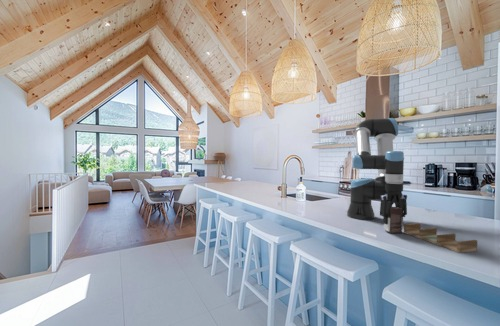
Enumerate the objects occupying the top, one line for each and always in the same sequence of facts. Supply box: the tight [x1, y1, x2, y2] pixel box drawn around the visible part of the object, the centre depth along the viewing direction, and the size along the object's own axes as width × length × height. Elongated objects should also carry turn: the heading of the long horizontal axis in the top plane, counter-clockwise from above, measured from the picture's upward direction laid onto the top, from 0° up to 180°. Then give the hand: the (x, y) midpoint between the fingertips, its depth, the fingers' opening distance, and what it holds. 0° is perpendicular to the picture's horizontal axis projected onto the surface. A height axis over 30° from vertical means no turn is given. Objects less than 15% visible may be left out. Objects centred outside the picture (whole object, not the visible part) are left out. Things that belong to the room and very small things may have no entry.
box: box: [384, 206, 403, 234], centre depth 113 cm, size 6×4×12 cm
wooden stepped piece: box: [403, 222, 478, 254], centre depth 101 cm, size 24×9×4 cm, turn 13°
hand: (393, 229), depth 113 cm, fingers closed on box, 6 cm apart
